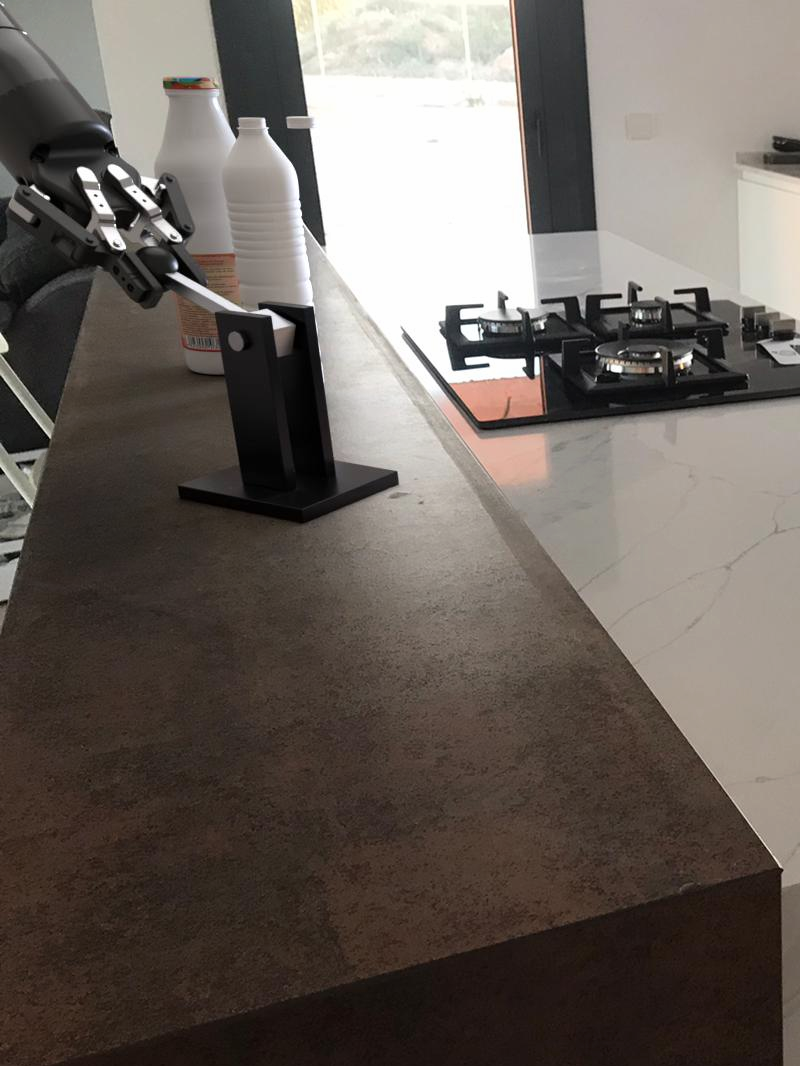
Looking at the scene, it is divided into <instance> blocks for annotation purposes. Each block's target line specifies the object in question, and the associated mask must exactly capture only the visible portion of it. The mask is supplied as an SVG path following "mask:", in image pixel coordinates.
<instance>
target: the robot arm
mask: <svg viewBox="0 0 800 1066" xmlns="http://www.w3.org/2000/svg"><path fill="white" fill-rule="evenodd" d="M0 163H1V165H2V166H3V167H4V169H6V171H7V172H8V173H9V175H10V176H11V177H12V178H13V180H14V181H15V182H16V183H17V184H18V186H17V187H16V189H15V192H13V194H12V196H11V198H10V200H9V202H8V206H7V207H6V210H5V215H6V217H7V218H8V219H9V220H11V221H12V222H14V223H15V224H16V225H17V226H19V227H20V228H21V229H23V230H24V231H26V232H27V233H28V234H29V235H31V236H32V237H34V238H35V239H36V240H38V241H39V242H40V243H42V244H43V245H44V246H46V247H47V248H48V249H49V250H51V251H52V252H53V253H55V254H56V255H58V256H59V257H60V258H62V259H63V260H65V261H66V262H67V263H68V264H70V265H71V266H73V267H74V268H76V269H80V270H81V269H82V270H83V269H85V268H87V266H88V265H89V266H96V267H97V268H98V269H99V270H100V271H102V272H105V273H109V274H110V275H111V277H112V278H113V279H114V280H115V282H116V283H117V284H118V286H120V287H121V289H122V290H123V291H124V293H125V294H126V296H128V298H129V299H130V300H131V301H133V302H135V303H136V304H139V306H140V308H141V309H143V310H150V309H154V308H157V306H158V304H159V302H160V301H161V299H162V298H163V296H164V293H163V288H162V286H161V285H160V284H159V283H158V281H157V280H156V279H155V278H154V276H153V275H152V274H151V273H150V271H149V270H148V269H147V268H146V266H145V265H144V264H143V263H142V262H141V260H140V259H139V258H138V257H137V255H136V254H135V253H134V252H135V251H134V250H129V251H126V248H127V245H126V242H125V241H124V239H123V237H124V238H125V239H126V240H127V241H129V242H130V243H132V244H139V245H140V246H141V248H142V247H146V246H157V247H161V248H163V249H165V250H167V251H169V252H170V253H171V254H172V255H173V256H174V257H175V259H176V260H177V262H178V264H179V267H180V274H182V275H183V276H185V277H187V278H189V279H190V280H192V281H194V282H196V283H198V284H199V285H201V286H203V287H205V288H207V286H208V282H207V280H208V279H207V276H206V273H205V272H204V271H203V270H202V268H200V266H199V265H198V264H197V262H196V261H195V260H194V259H193V257H192V256H191V255H190V254H189V252H188V251H187V250H186V249H185V247H186V246H187V244H188V242H189V241H190V239H191V238H192V236H193V234H194V233H195V231H196V227H195V225H194V222H193V219H192V217H191V214H190V211H189V209H188V206H187V204H186V201H185V198H184V196H183V193H182V190H181V188H180V185H179V182H178V180H177V178H176V177H175V176H174V175H172V174H170V173H167V172H164V173H162V175H161V177H160V178H159V179H155V177H154V178H153V177H149V176H146V175H145V176H144V175H141V174H140V172H139V171H138V170H137V169H136V167H134V166H133V165H131V164H130V163H129V162H127V161H126V160H124V159H123V158H122V157H121V156H120V154H119V153H118V151H117V147H116V144H115V140H114V137H113V134H112V132H111V130H110V128H109V127H108V126H107V124H105V122H103V120H102V118H101V117H100V116H99V115H98V114H97V112H95V110H94V108H92V107H91V105H90V103H89V102H88V101H87V100H86V99H85V97H84V96H83V95H82V93H81V92H80V91H79V90H78V89H77V88H76V86H74V84H73V83H72V81H71V80H70V79H69V78H68V77H67V75H66V74H65V73H64V71H63V70H62V69H61V67H59V66H58V64H57V63H56V62H55V61H54V59H53V58H52V57H51V56H50V55H48V53H47V52H45V50H43V49H42V48H41V47H40V46H39V45H38V44H37V43H36V42H35V41H34V40H33V38H32V37H31V36H30V35H29V34H28V32H27V31H26V30H25V28H23V26H22V25H21V24H20V22H19V21H18V20H17V19H16V18H15V16H14V15H13V14H12V13H11V11H10V10H9V9H8V8H7V6H6V5H5V4H4V3H3V1H2V0H0ZM135 221H136V222H135ZM134 222H135V223H134ZM152 230H153V231H154V232H155V233H156V234H157V235H158V236H159V237H160V238H161V239H160V240H158V239H157V238H156V237H155V236H154V235H153V233H152ZM62 233H63V234H62ZM63 235H65V236H67V237H68V238H69V239H71V240H72V241H74V242H75V245H74V244H72V243H71V242H69V241H68V240H67V239H65V238H64V237H63ZM122 236H123V237H122Z"/></svg>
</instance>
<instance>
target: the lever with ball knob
mask: <svg viewBox="0 0 800 1066" xmlns="http://www.w3.org/2000/svg"><path fill="white" fill-rule="evenodd" d="M133 252H134V253H135V254H136V255H137V257H138V258H139V259H140V260H141V262H142V263H143V264H144V265H145V266H146V268H147V269H148V270H149V271H150V273H151V274H152V275H153V276H154V278H155V279H156V280H157V281H158V283H159V284H160V285H161V286H162V288H163V294H164V293H167V292H170V291H172V292H173V291H174V292H176V293H177V294H179V295H181V296H183V297H184V298H186V299H188V300H190V301H192V302H193V303H195V304H197V305H199V306H200V307H202V308H204V309H206V310H207V311H209V312H211V313H213V314H214V315H215V312H217V311H222V310H230V311H238V312H246V313H255V314H263V315H270V316H272V323H273V330H274V336H275V343H276V350H277V357H278V358H279V357H283V356H287V355H291V354H292V350H293V343H294V336H295V329H296V325H295V324H294V323H292V322H290V321H288V320H286V319H285V318H283V317H281V316H279V315H277V314H276V313H274V312H272V311H270V310H269V309H263V310H258V311H254V312H247V311H245V310H244V309H242V308H240V307H238V306H237V305H235V304H233V303H231V302H229V301H228V300H226V299H224V298H222V297H221V296H219V295H217V294H215V293H213V292H212V291H210V290H208V289H206V288H205V287H203V286H201V285H199V284H198V283H196V282H194V281H192V280H190V279H189V278H187V277H185V276H183V275H182V274H180V267H179V264H178V262H177V260H176V259H175V257H174V256H173V255H172V254H171V253H170V252H169V251H167V250H165V249H163V248H161V247H157V246H146V247H142V246H141V247H140V248H138V249H136V251H133ZM174 292H173V293H174Z"/></svg>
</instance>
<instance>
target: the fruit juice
mask: <svg viewBox="0 0 800 1066" xmlns="http://www.w3.org/2000/svg"><path fill="white" fill-rule="evenodd" d="M162 88H163V91H164V94H165V96H167V98H168V109H167V114H166V115H167V116H166V120H165V126H164V127H165V128H164V133H163V136H162V142H161V145H160V149H159V150H158V153H157V155H156V157H155V160H154V165H153V172H154V179H159V178H160V177H161V175H162V173H164V172H167V173H170V174H172V175H174V176H175V177H176V178H177V180H178V182H179V185H180V188H181V190H182V193H183V196H184V198H185V201H186V204H187V206H188V209H189V211H190V214H191V217H192V219H193V222H194V225H195V227H196V231H195V233H194V234H193V236H192V238H191V239H190V241H189V242H188V244H187V246H186V247H185V249H186V250H187V251H188V252H189V254H190V255H191V256H192V257H193V259H194V260H195V261H196V262H197V264H198V265H199V266H200V268H202V270H203V271H204V272H205V273H206V276H207V279H208V280H207V282H208V286H207V288H206V289H208V290H210V291H212V292H213V293H215V294H217V295H219V296H221V297H222V298H224V299H226V300H228V301H229V302H231V303H233V304H235V305H237V306H238V307H240V308H242V306H243V303H242V301H241V298H240V292H239V284H240V282H239V280H238V278H237V273H236V265H235V254H234V251H233V248H234V246H233V244H232V239H233V237H232V236H231V227H230V225H229V221H230V219H229V217H228V211H229V210H228V209H227V206H226V203H227V200H226V198H225V193H224V189H223V182H222V170H223V166H224V163H225V161H226V159H227V157H228V155H229V153H230V151H231V149H232V147H233V146H234V144H235V142H236V140H237V138H236V136H235V133H234V132H233V130H232V129H231V126H230V124H229V122H228V120H227V118H226V116H225V113H224V112H223V110H222V108H221V106H220V103H219V99H218V98H219V96H220V85H219V80H218V78H217V77H214V76H164V77H163V78H162ZM172 292H173V297H174V304H175V309H176V314H177V321H178V326H179V331H180V338H181V345H182V349H183V354H184V359H185V362H186V363H185V364H186V365H187V367H188V369H189V370H190V371H192V372H195V373H198V374H204V375H215V376H216V375H220V376H222V375H223V376H225V374H224V368H223V362H222V356H221V350H220V344H219V338H218V331H217V325H216V319H215V315H214V314H213V313H211V312H209V311H207V310H206V309H204V308H202V307H200V306H199V305H197V304H195V303H193V302H192V301H190V300H188V299H186V298H184V297H183V296H181V295H179V294H177V293H176V292H174V291H172Z"/></svg>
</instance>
